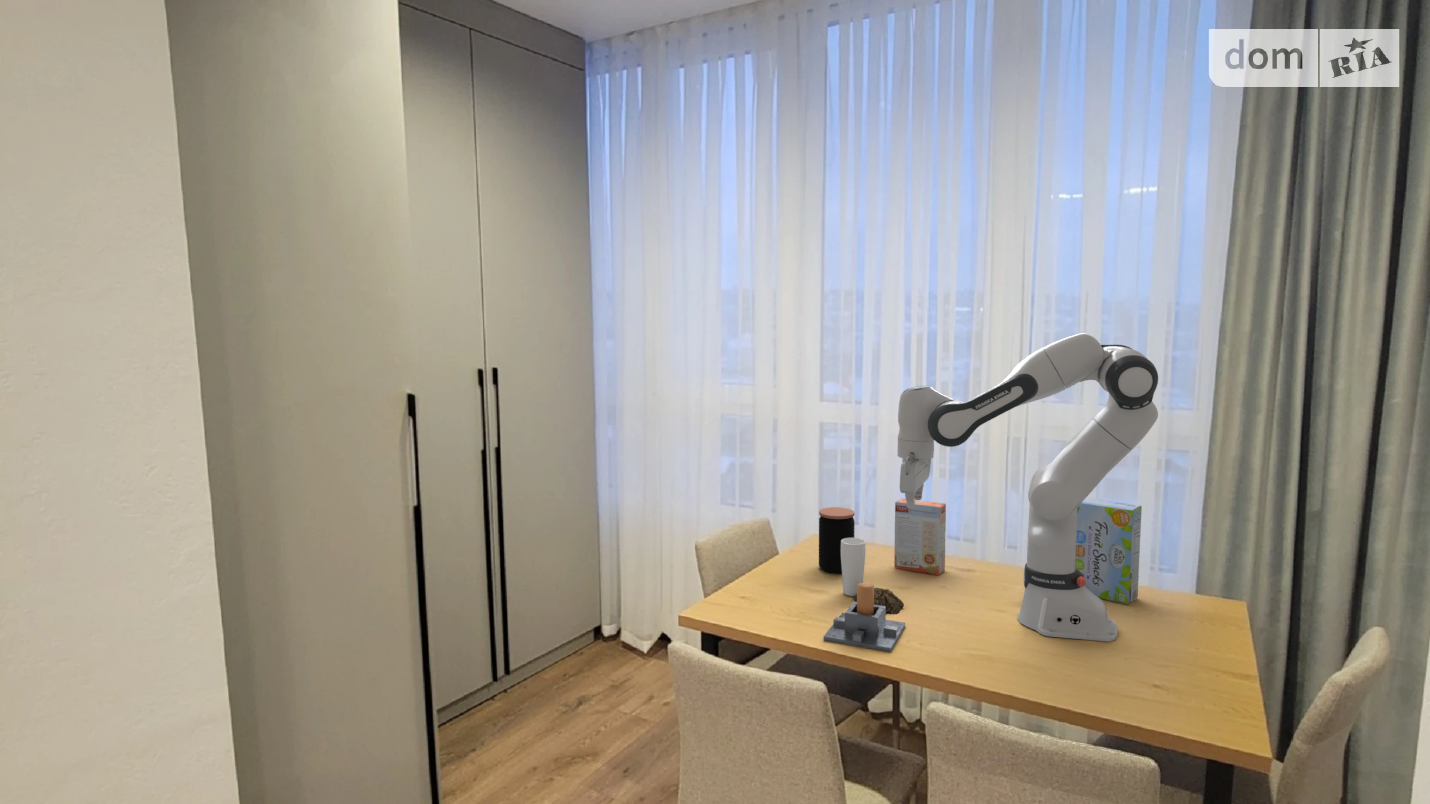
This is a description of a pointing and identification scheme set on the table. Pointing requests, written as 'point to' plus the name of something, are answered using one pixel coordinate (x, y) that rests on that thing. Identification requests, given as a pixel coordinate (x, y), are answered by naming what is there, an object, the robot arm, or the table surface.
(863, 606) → the rounded pin
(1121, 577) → the snack box
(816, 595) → the table surface
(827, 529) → the coffee jar
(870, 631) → the hollow box on baseplate
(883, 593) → the bread roll
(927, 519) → the cracker box
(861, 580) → the drinking glass
